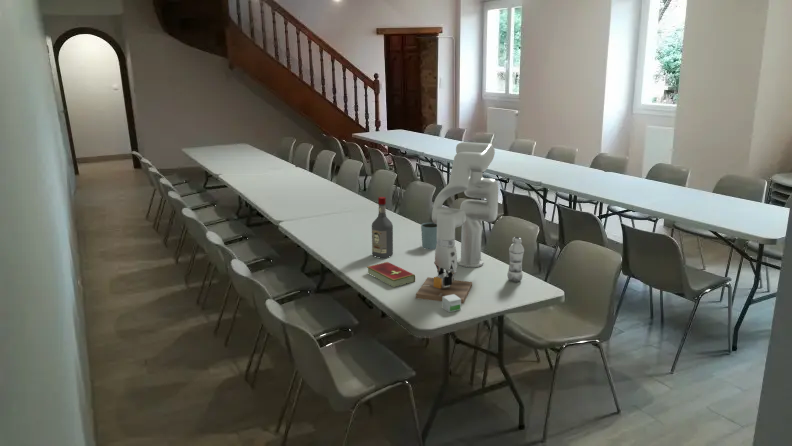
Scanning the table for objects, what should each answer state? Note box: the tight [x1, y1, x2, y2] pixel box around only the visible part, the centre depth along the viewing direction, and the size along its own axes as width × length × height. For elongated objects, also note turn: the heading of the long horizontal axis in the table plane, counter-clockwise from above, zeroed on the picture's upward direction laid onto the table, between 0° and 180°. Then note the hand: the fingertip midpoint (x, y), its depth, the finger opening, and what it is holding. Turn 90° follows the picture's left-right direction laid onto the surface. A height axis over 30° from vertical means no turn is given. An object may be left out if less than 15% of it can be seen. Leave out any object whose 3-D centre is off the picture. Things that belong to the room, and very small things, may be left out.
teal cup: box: [420, 222, 437, 250], centre depth 308 cm, size 10×10×12 cm
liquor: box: [371, 196, 394, 259], centre depth 292 cm, size 9×9×30 cm
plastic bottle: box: [507, 236, 525, 283], centre depth 259 cm, size 6×7×20 cm
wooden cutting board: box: [415, 276, 473, 305], centre depth 249 cm, size 20×20×2 cm
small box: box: [441, 294, 462, 313], centre depth 233 cm, size 6×6×5 cm
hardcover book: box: [366, 261, 416, 288], centre depth 266 cm, size 12×21×4 cm, turn 36°
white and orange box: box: [433, 271, 456, 289], centre depth 248 cm, size 11×4×6 cm, turn 141°
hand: (444, 282), depth 248 cm, fingers closed on white and orange box, 4 cm apart
